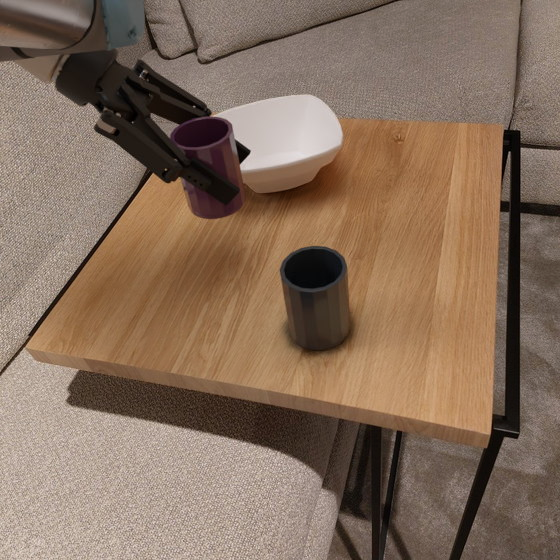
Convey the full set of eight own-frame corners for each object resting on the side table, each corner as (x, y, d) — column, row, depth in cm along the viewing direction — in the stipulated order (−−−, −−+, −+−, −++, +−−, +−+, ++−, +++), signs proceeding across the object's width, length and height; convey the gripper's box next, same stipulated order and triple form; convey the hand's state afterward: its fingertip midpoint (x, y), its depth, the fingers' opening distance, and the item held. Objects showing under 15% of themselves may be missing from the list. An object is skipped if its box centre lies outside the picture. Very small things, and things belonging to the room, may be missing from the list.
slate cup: (328, 360, 68) (322, 300, 61) (277, 335, 72) (266, 276, 65) (361, 319, 72) (359, 258, 65) (311, 297, 76) (304, 238, 69)
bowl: (359, 196, 90) (357, 147, 84) (227, 227, 88) (216, 180, 82) (322, 132, 105) (318, 86, 99) (209, 157, 103) (198, 113, 97)
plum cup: (220, 226, 72) (203, 155, 65) (177, 208, 75) (156, 140, 68) (257, 194, 75) (245, 124, 69) (214, 179, 79) (199, 111, 72)
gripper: (45, 75, 54) (243, 210, 63) (114, -3, 69) (268, 115, 77) (17, 129, 59) (205, 248, 67) (88, 45, 73) (235, 151, 82)
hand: (238, 177), depth 72 cm, fingers closed on plum cup, 7 cm apart
